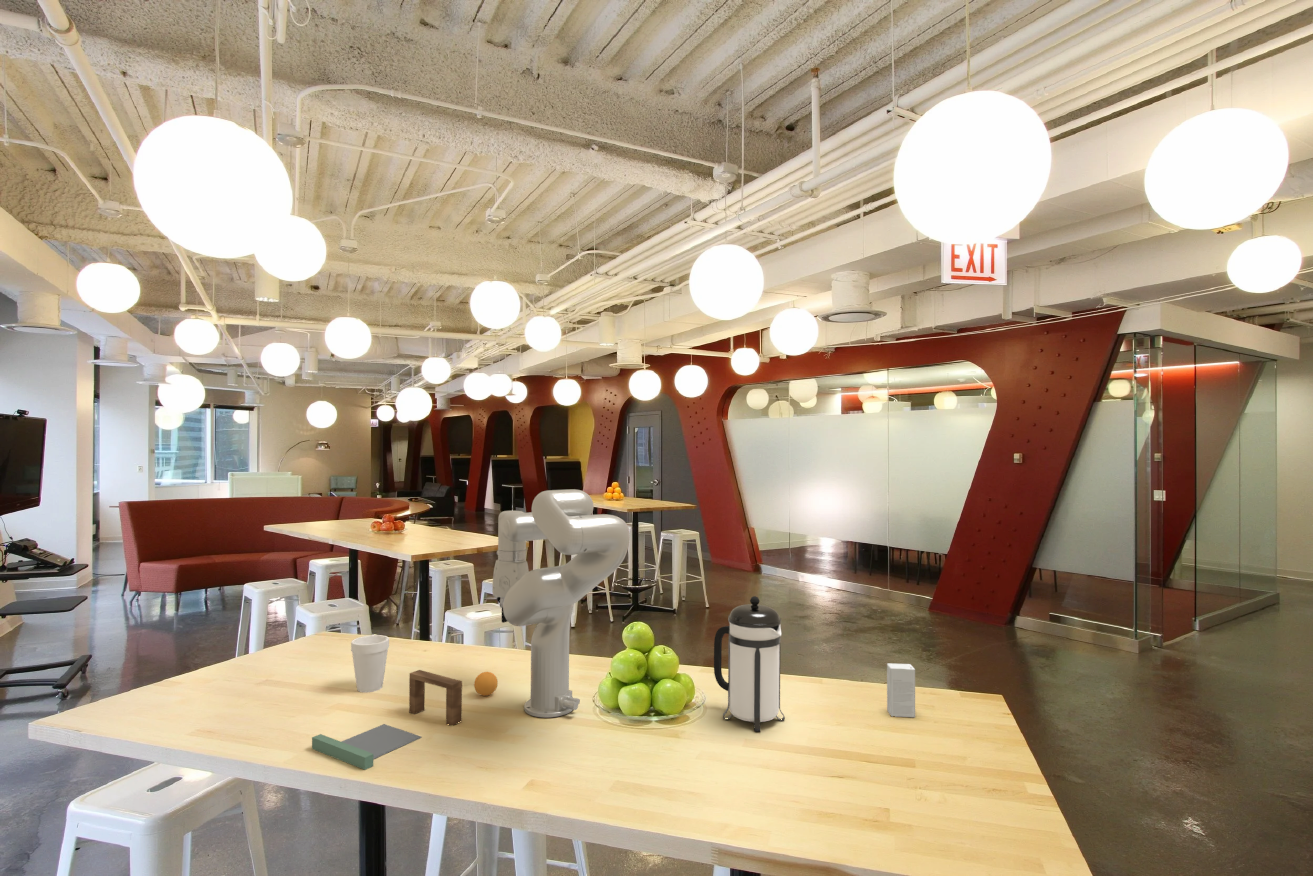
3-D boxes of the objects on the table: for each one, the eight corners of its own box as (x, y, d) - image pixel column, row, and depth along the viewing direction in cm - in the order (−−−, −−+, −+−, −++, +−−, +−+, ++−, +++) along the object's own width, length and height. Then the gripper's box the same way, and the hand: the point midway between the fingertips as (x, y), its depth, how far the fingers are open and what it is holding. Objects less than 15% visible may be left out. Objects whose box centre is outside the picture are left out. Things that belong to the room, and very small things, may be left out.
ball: (502, 693, 184) (502, 671, 184) (485, 701, 179) (486, 677, 179) (485, 689, 187) (486, 667, 187) (469, 696, 182) (469, 673, 182)
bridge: (419, 708, 173) (419, 669, 173) (461, 721, 166) (462, 681, 166) (409, 712, 171) (409, 673, 171) (451, 726, 163) (452, 684, 163)
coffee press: (781, 707, 176) (782, 589, 176) (787, 734, 160) (788, 604, 160) (713, 704, 178) (714, 587, 178) (712, 730, 162) (713, 602, 162)
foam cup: (362, 697, 180) (363, 647, 180) (344, 689, 186) (344, 640, 186) (395, 687, 188) (396, 639, 188) (376, 679, 194) (377, 633, 194)
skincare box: (910, 711, 174) (911, 663, 174) (915, 718, 170) (915, 669, 170) (886, 710, 175) (886, 662, 175) (890, 716, 171) (890, 668, 171)
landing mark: (421, 737, 157) (421, 736, 157) (371, 760, 145) (371, 759, 145) (384, 724, 163) (384, 724, 163) (333, 745, 152) (333, 744, 152)
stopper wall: (373, 766, 143) (373, 754, 143) (364, 770, 141) (364, 757, 141) (320, 745, 152) (320, 734, 152) (311, 748, 150) (312, 737, 150)
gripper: (480, 555, 192) (479, 621, 192) (525, 560, 183) (524, 630, 183) (499, 551, 198) (499, 615, 198) (543, 556, 190) (543, 623, 190)
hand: (511, 621), depth 191 cm, fingers open, 3 cm apart
